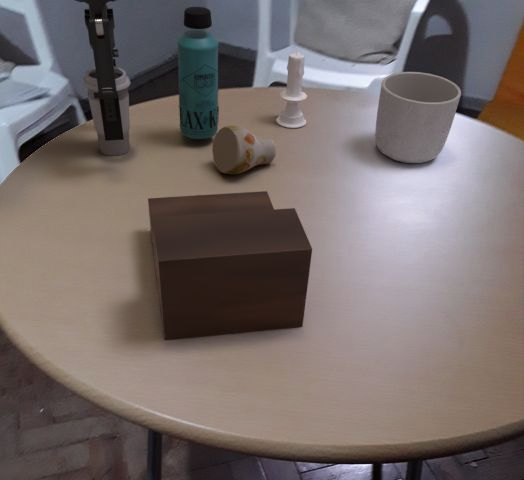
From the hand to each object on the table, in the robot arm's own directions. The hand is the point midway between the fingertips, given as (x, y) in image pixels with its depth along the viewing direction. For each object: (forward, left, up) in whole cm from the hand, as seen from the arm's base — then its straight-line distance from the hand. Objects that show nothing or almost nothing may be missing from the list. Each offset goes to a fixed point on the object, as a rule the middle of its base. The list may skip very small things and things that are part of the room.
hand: (113, 119), depth 98 cm
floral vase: (+8, +20, -5) cm, 22 cm away
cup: (0, 0, -5) cm, 5 cm away
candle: (-7, +31, -5) cm, 32 cm away
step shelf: (+35, +12, -5) cm, 37 cm away
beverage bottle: (-2, +14, -5) cm, 15 cm away
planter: (+6, +48, -5) cm, 48 cm away
